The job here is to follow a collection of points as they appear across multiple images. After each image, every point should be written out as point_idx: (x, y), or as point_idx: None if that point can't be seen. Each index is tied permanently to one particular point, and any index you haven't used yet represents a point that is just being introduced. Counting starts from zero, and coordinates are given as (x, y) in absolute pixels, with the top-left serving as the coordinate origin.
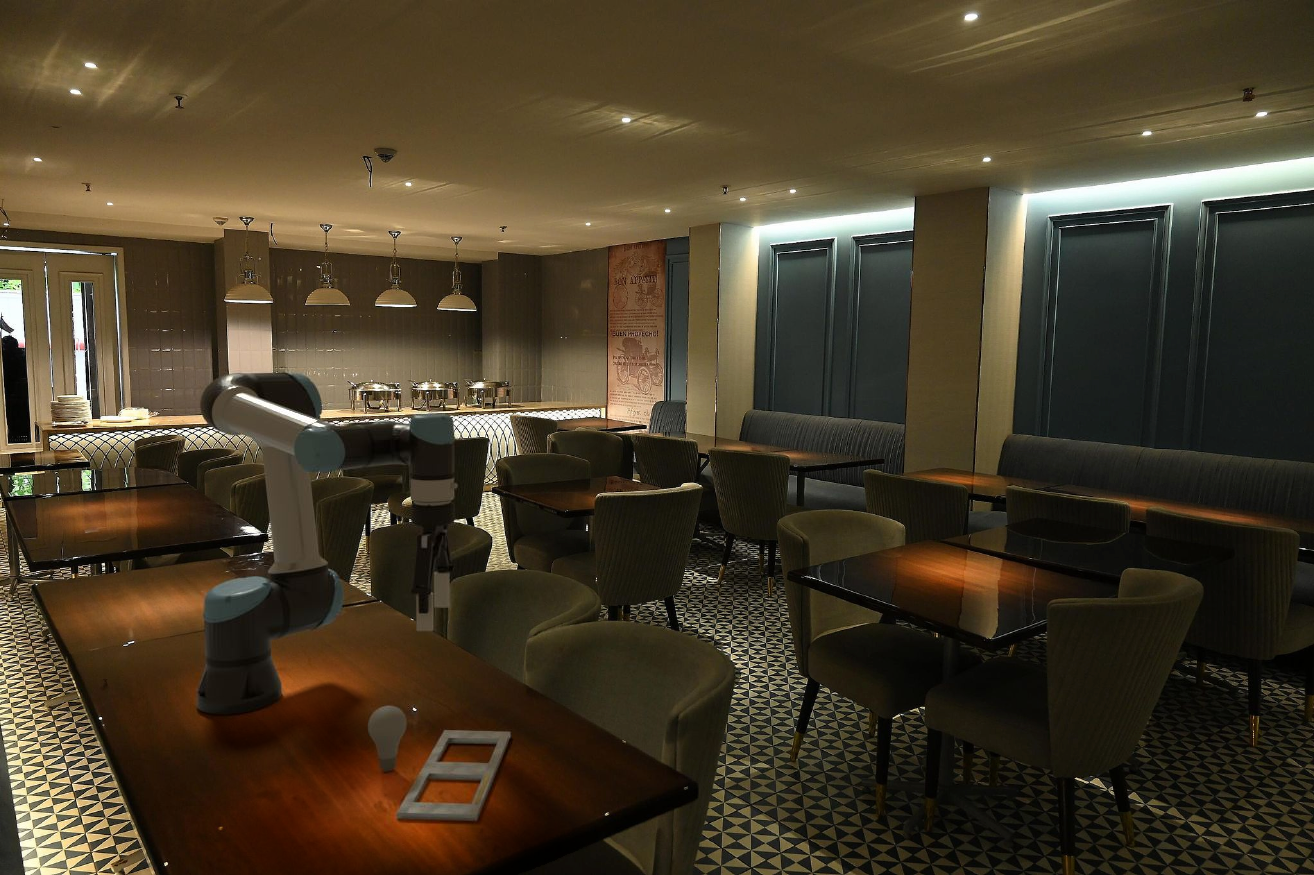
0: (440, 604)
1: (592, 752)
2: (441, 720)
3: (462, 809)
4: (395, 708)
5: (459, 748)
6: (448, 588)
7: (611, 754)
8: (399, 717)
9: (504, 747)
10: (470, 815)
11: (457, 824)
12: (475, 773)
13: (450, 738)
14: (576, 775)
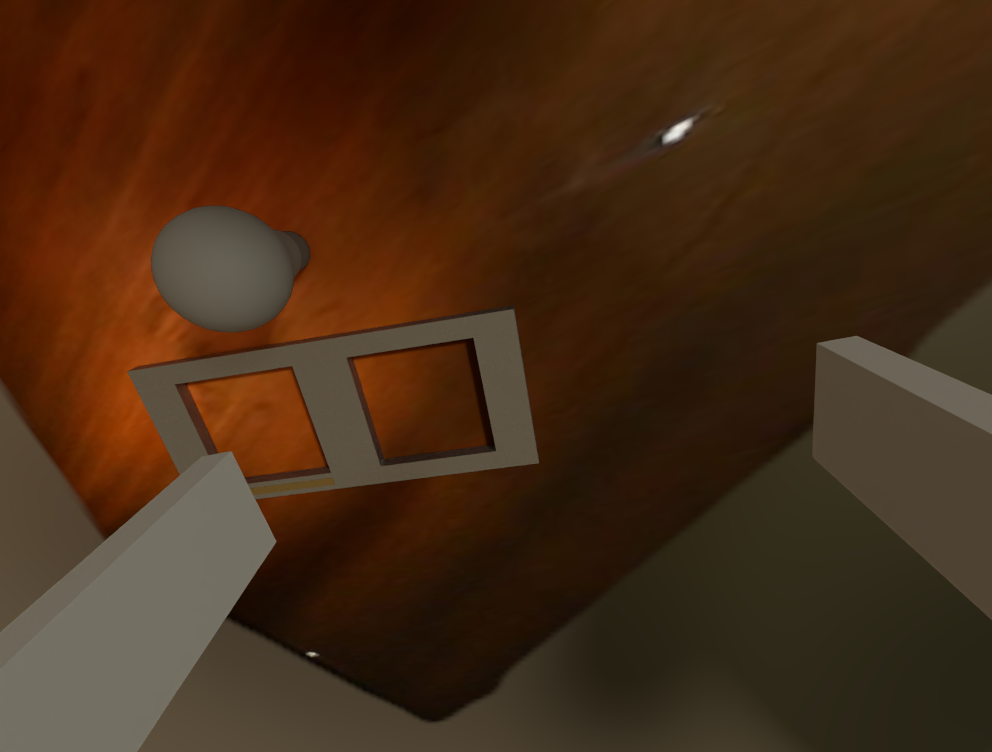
0: (831, 406)
1: (505, 606)
2: (604, 256)
3: None
4: (209, 308)
5: (455, 368)
6: (961, 586)
7: (505, 633)
8: (207, 327)
9: (462, 471)
10: None
11: None
12: (329, 456)
13: (474, 341)
14: (411, 599)
